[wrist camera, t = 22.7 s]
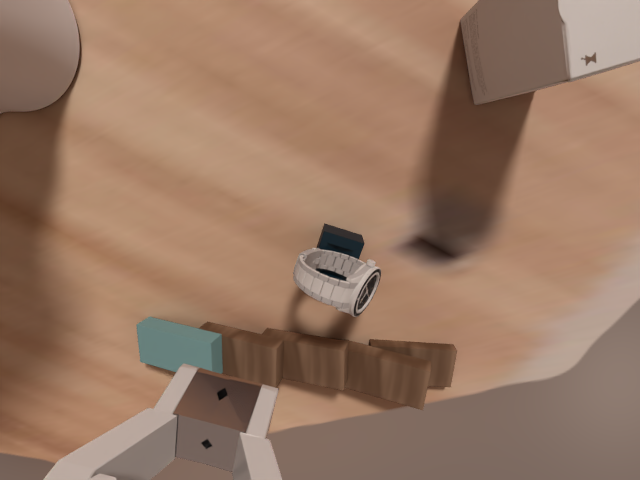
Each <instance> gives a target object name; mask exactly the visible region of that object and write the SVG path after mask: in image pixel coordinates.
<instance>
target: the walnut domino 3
mask: <svg viewBox="0 0 640 480" xmlns="http://www.w3.org/2000/svg"><path fill="white" fill-rule="evenodd" d="M344 341H349V340H344ZM430 373H431V361H428V360H424V359H420V358H416V357H412V356H408V355H404V354H400V353H396V352H392V351H388V350H384V349H380V348H376V347H372V346H368V345H364V344H360V343H357V342H353V341H349V346H348V380H347V383H346V386H345V388H348V389H351V390H355V391H358V392H362V393H365V394H368V395H372V396H375V397H379V398H382V399H386V400H389V401H393V402H396V403H400V404H403V405H406V406H410V407H414V408H417V409H420V410H423V407H424V402H425V397H426V392H427V387H428V382H429V378H430Z"/></svg>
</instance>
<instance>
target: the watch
mask: <svg viewBox="0 0 640 480" xmlns="http://www.w3.org/2000/svg"><path fill="white" fill-rule="evenodd" d="M363 246H364V241H363V238H362V235H359V234H356V233H353V232H350V231H347V230H343V229H340V228H337V227H334V226H331V225H328V224H324V227H323V230H322V233H321V236H320V239H319V242H318V245H317V248H313V249H308V250H306V251H303V252H302V253H300V254H299V256H298V259H297V262H296V265H295V268H294V272H293V274H294V276H293V279H294V281H295V283H296V284H297V285H298V287H299V288H300V289H301V290H303V291H304V292H305V293H306V294H307V295H309V296H312V297H313V298H314V299H316V300H318V301H321V302H323V303H325V304H328V305H332V306H335V307H336V309H337V310H339V311H342V312H345V313H349V314H351V315H352V316H353V317H357V316H359V315H360V314H361V313H362V312H363V311H364V310H365V309H366V307H367V306H368V304H369V303H370V301H371V299H372V298H373V296H374V294H375V292H376V289H377V287H378V284H379V281H380V277H381V269H380V268H379V267H375V264H376V262H375V261H373V260H370V259H368V260H367V262H366V264H365V263H364V262H362V261H360V260H358V259H359V257H360V254H361V251H362V248H363ZM333 288H334V289H333ZM321 289H322V290H321ZM332 291H333V292H332ZM320 292H321V293H320ZM321 299H322V300H321ZM332 300H333V301H332ZM331 303H332V304H331Z"/></svg>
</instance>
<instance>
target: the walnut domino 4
mask: <svg viewBox="0 0 640 480" xmlns="http://www.w3.org/2000/svg"><path fill="white" fill-rule="evenodd" d="M369 346H372V347H376V348H380V349H384V350H388V351H392V352H396V353H400V354H404V355H408V356H412V357H416V358H420V359H424V360H428V361H431V373H430V378H429V382H428V386H437V387H451V382H452V376H453V371H454V365H455V360H456V354H457V350H456V348H455V347H454V345H453V344H438V343H422V342H406V341H390V340H374V339H370V342H369Z"/></svg>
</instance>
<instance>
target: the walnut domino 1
mask: <svg viewBox="0 0 640 480" xmlns="http://www.w3.org/2000/svg"><path fill="white" fill-rule="evenodd" d="M199 329H202V330H206V331H211V332H215V333H219V334H222V364H223V372H222V374H226V375H229V376H233V377H237V378H241V379H245V380H249V381H253V382H257V383H261V384H262V385H263V384H264V385H267V386H271V387H275V388H276V387H277V386H278V384H279V383H280V381H281V380H282V378H283V357H284V340H283V339H279V338H274V337H270V336H266V335H262V334H257V333H253V332H249V331H245V330H240V329H236V328H232V327H227V326H223V325H219V324H215V323H210V322H207V323H205V324H204V325H203V326H201V327H200V328H199Z"/></svg>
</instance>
